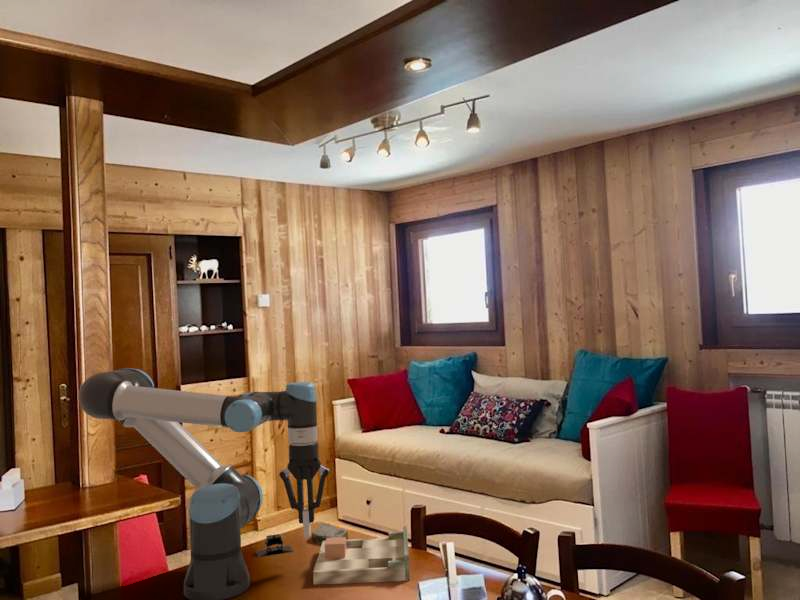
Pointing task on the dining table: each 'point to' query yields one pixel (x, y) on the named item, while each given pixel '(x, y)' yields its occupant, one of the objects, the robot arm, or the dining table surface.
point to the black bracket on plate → (274, 550)
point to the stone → (328, 533)
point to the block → (335, 547)
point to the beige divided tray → (366, 561)
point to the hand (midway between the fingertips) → (307, 535)
